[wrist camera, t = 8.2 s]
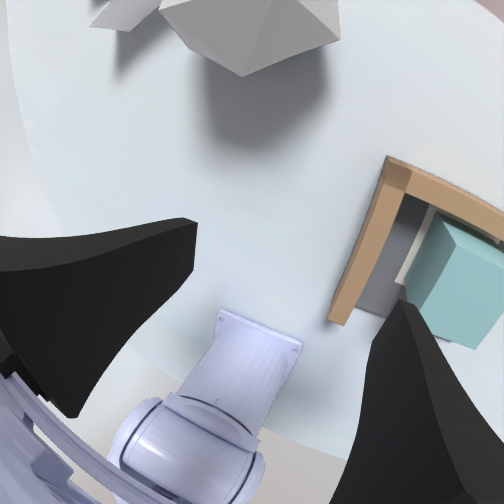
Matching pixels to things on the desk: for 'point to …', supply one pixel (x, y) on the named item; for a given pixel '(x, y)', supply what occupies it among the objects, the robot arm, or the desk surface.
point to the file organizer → (125, 14)
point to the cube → (457, 281)
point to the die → (252, 29)
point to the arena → (403, 235)
